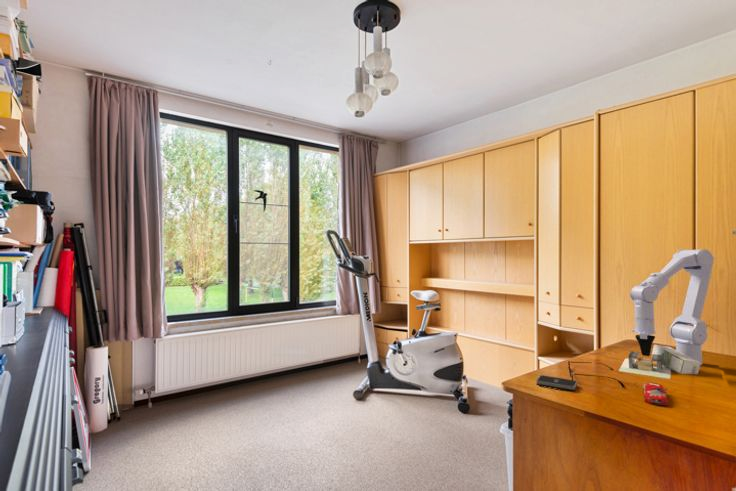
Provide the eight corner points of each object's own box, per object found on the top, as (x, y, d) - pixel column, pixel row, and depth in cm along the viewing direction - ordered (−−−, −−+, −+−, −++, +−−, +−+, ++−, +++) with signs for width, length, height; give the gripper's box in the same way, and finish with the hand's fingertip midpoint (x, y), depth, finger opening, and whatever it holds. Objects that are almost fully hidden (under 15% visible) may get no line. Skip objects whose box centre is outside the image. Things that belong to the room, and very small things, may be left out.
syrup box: (701, 362, 123) (669, 346, 138) (683, 359, 124) (653, 343, 138) (697, 378, 124) (665, 360, 138) (679, 375, 124) (649, 358, 139)
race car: (668, 409, 100) (668, 394, 101) (644, 405, 104) (643, 390, 104) (665, 394, 111) (665, 380, 111) (643, 390, 114) (642, 377, 114)
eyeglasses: (566, 370, 137) (566, 359, 137) (617, 375, 130) (616, 363, 130) (570, 384, 122) (569, 371, 122) (627, 390, 115) (626, 377, 115)
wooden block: (639, 365, 134) (638, 357, 134) (652, 367, 131) (652, 359, 132) (637, 369, 130) (637, 360, 130) (652, 371, 128) (651, 362, 128)
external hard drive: (540, 380, 125) (540, 374, 125) (577, 387, 119) (577, 380, 119) (536, 386, 120) (536, 380, 120) (574, 393, 113) (574, 387, 113)
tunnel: (631, 363, 138) (630, 351, 138) (662, 367, 132) (661, 355, 132) (629, 368, 132) (628, 355, 132) (661, 372, 126) (660, 359, 126)
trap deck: (625, 362, 144) (625, 358, 144) (671, 368, 135) (671, 364, 135) (618, 375, 129) (618, 370, 129) (670, 383, 119) (670, 378, 119)
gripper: (633, 315, 144) (634, 350, 143) (629, 319, 133) (630, 357, 132) (655, 316, 139) (657, 352, 139) (653, 321, 128) (655, 361, 128)
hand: (645, 355), depth 135 cm, fingers closed
